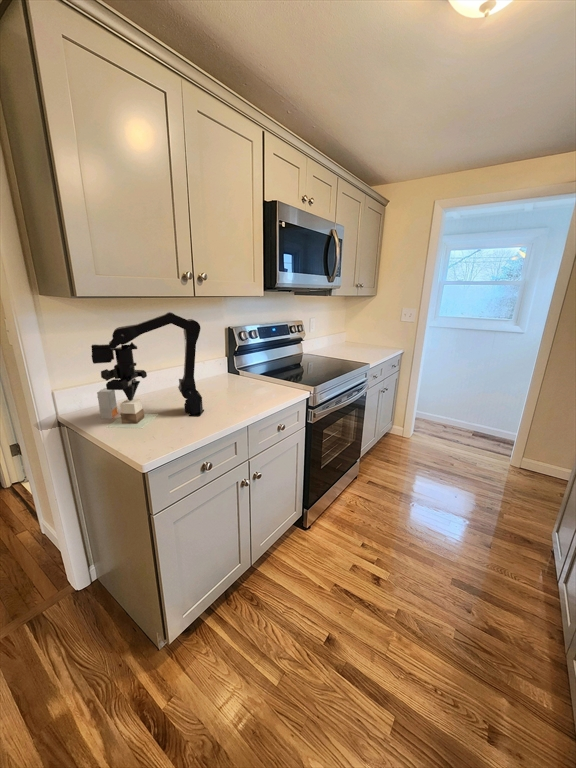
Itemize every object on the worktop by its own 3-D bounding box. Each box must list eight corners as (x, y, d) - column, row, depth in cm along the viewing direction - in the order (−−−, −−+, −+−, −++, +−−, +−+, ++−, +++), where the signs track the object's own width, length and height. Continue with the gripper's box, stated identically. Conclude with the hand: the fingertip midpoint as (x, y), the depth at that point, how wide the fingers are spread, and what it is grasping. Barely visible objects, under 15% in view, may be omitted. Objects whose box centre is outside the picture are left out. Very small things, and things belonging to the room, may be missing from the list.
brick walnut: (144, 417, 128) (143, 408, 127) (137, 423, 122) (135, 414, 121) (130, 417, 128) (128, 408, 127) (121, 423, 122) (120, 413, 121)
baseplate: (158, 416, 132) (158, 414, 132) (142, 430, 118) (142, 428, 118) (125, 415, 132) (125, 413, 132) (106, 429, 119) (105, 427, 119)
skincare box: (112, 420, 127) (107, 392, 124) (101, 420, 127) (96, 392, 123) (118, 414, 133) (114, 387, 129) (108, 414, 132) (103, 387, 129)
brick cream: (142, 408, 127) (141, 399, 125) (135, 413, 121) (134, 404, 120) (129, 408, 127) (127, 398, 126) (121, 413, 122) (120, 403, 120)
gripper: (118, 355, 128) (123, 392, 132) (88, 366, 110) (95, 408, 114) (145, 356, 127) (149, 393, 132) (119, 367, 109) (125, 409, 114)
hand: (130, 400), depth 123 cm, fingers closed
